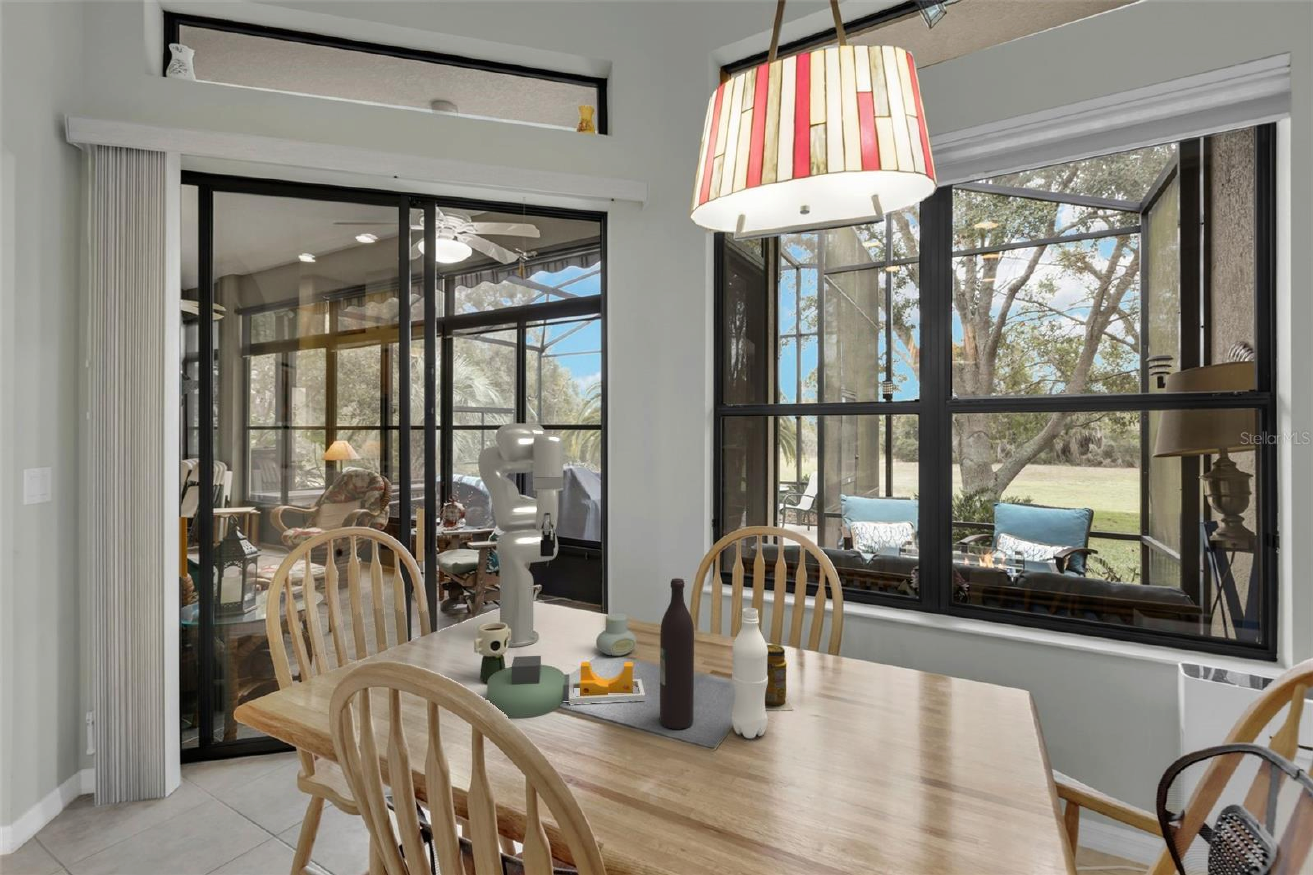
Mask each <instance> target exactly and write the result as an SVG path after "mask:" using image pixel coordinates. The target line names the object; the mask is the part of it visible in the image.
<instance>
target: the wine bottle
mask: <svg viewBox="0 0 1313 875" xmlns="http://www.w3.org/2000/svg"><path fill="white" fill-rule="evenodd" d="M670 588H671V598H670V603H669V605H668V607H667V609H666V610H665V613H664V615H663V617H662V620H661V623H660V624H661V625H660V632H659V635H660V636H659V637H660V639H659V645H660V646H659V721H660V725H662V726H663V727H664V728H667V729H670V728H671V729H672V730H683V729H682V728H684V729H688V728H690V727H691V726H693V723H694V706H695V705H694V704H695V702H694V700H695V698H694V696H695V695H694V693H695V692H694V691H695V688H694V686H695V683H694V682H695V681H694V680H695V676H694V674H695V673H694V672H695V666H694V665H695V628H694V627H695V625H694V622H693V618H692V616H691V614H690V612H689V610H688V608H687V606H686V603H685V598H684V588H685V581H684V579H683V578H680V577H679V578H672V579H671V581H670Z"/></svg>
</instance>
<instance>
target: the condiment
mask: <svg viewBox="0 0 1313 875" xmlns="http://www.w3.org/2000/svg"><path fill="white" fill-rule="evenodd" d="M766 645H767V649H768V655H767V676H768V684H767V687H766V692H765V710H766V711H778V712H782V711H793V710H794V709H793V707H792V705H791V703H790V701H789V700H788V698H787V661H786V657H785V654H786V652H785V649H784V648H783V647H782V646H780V645H776V644H766Z"/></svg>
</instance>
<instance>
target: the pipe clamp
mask: <svg viewBox="0 0 1313 875" xmlns="http://www.w3.org/2000/svg"><path fill="white" fill-rule="evenodd" d="M633 679H634V662H633V661H625V662H624V667H623V669H622V671H621V673H619V674H618V675H617V676H616V677H613V678H606V679H605V678H603V677H600V676H598V675H597V674H596V673H595V672H594V671H593V669H592V665H591V661H582V662H581V664H580V681H579V682H580V696H597V695H608V693H632V694H633ZM625 685H628V686H625Z"/></svg>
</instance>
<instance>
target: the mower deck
mask: <svg viewBox="0 0 1313 875" xmlns="http://www.w3.org/2000/svg"><path fill="white" fill-rule="evenodd" d="M541 662H542V656H541V655H526V656H525V655H524V656H523V655H521V656H514V657H513V661H512V663H511V666H510V667H505V669H502V670H500V671H498V672H496V673H494V674H493V675H492V676H490V678H489V679H488V682H486V684H487V695H486V696H487V698H486V699H487V700H489V701H490V703H492V704H493V705H495V706H496V707H497V708H498V709H499V710H501V711H502V712H504V714H506V715H507V716H508V718H509V719H529V718H536V717H540V716H543V715H547V714H550V713H552V712H554V711H556V710H558V709H559V708H560V707H561V706H562V705H563V704H562V702H563V701H569V703H568V705H569V704H577V703H592V702H601V701H617V700H645V701H646V693H645V689H644V686H643V682H642V679H641V678H639V679H638V678H633V686H636V687H638V691H639V693H638V694H617V695H597V696H576V697H573V693H574V688H580V681H570V674H569V673H568V674H565V673H564V672H563V671H562V670H561V669H559V668H557V667H554V666H552V665H551V666H550V665H545V664H542V663H541ZM625 686H628V685H625ZM487 700H486V701H487ZM561 704H562V705H561ZM560 705H561V706H560ZM559 706H560V707H559Z"/></svg>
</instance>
